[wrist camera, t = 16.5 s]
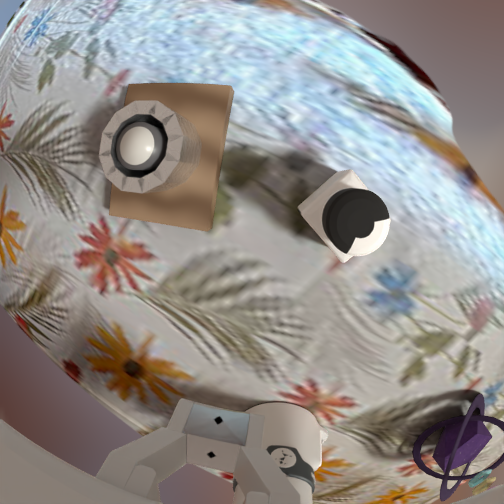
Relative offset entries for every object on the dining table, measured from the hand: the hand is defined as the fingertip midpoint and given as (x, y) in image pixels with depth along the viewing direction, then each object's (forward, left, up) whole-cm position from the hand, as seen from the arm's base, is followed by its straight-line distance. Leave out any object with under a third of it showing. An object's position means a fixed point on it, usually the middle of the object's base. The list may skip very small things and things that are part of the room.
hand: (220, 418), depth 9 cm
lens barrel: (+10, +14, -27) cm, 32 cm away
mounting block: (+10, +14, -29) cm, 34 cm away
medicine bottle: (+6, -8, -29) cm, 31 cm away
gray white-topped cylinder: (+10, +14, -26) cm, 31 cm away
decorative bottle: (-32, -48, -29) cm, 65 cm away
